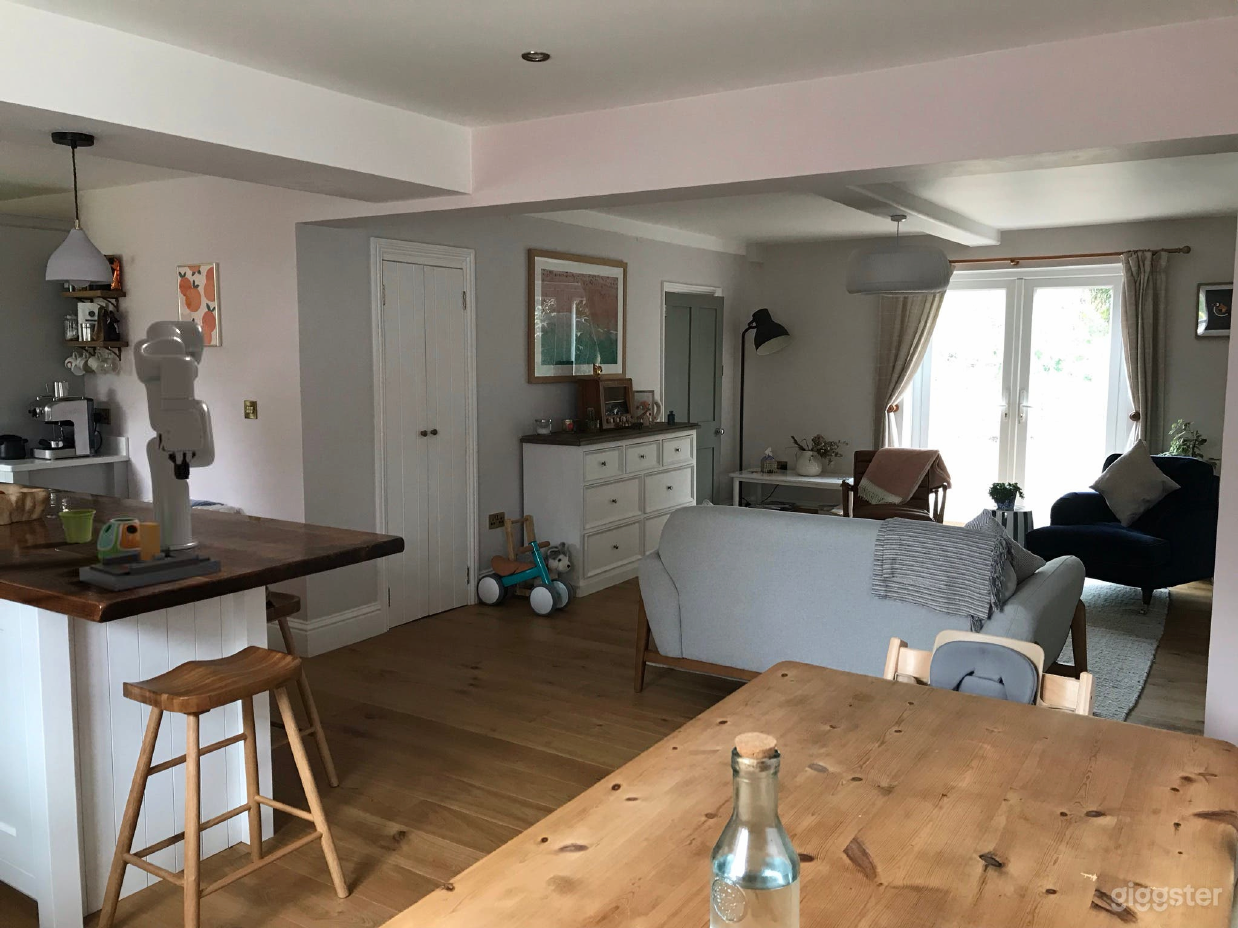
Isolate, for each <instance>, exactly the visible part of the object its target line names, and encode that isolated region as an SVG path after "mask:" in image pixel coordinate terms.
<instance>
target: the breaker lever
mask: <svg viewBox="0 0 1238 928" xmlns="http://www.w3.org/2000/svg"><path fill="white" fill-rule="evenodd" d="M139 531H140V549H141V559H142V560H146V561H150V562H153V554H158V553H160V534H159V524H156V523H154V522H151V521H146V522H140V523H139Z"/></svg>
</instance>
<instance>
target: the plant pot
mask: <svg viewBox="0 0 1238 928" xmlns="http://www.w3.org/2000/svg"><path fill="white" fill-rule="evenodd" d="M95 513H96V510H94V509H71V510H64V511H60V512H59V513H58V516H59V517H60V520H61V521H62V526H63V530H64V535H65V540H66V543H67V544H75V543H79V544H83V543H88V542H90V541H91V540H92V529H93V521H94V520H93V519H94V517H95Z"/></svg>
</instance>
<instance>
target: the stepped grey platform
mask: <svg viewBox="0 0 1238 928" xmlns="http://www.w3.org/2000/svg"><path fill="white" fill-rule="evenodd" d="M170 552H171V550H170V547H168V546H164V547H160V553H165V554H167V553H170ZM199 555H200V554H198V555H189V556H183V557H177V558H171V559H165V560H159V561H153V562H147V563H141V564H136V565H130V575H133V576H136V575H142V574H147V573H153V572H159V571H164V570H170V569H175V568H181V567H187V566H192V565H198V564H199ZM133 561H137V551H132V552H126V553H120V554H113V555H107V556H103V558H102V563H106V564H107V563H116V564H121V563H127V562H133Z"/></svg>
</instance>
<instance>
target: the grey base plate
mask: <svg viewBox="0 0 1238 928" xmlns="http://www.w3.org/2000/svg"><path fill="white" fill-rule="evenodd" d="M189 555H199V564H198V565H192V566H187V567H181V568H175V569H170V570H164V571H159V572H153V573H147V574H142V575H136V576H133V575H130V565H136V564H141V563H147V562H150V561H146V560H142V559H141V550H137V561H133V562H127V563H121V564H116V563H107V564H106V563H102V564H99V563H98V564H97V563H96V564H91V565H89V566H83V567H79V568H78V570H79V581H80V582H81V581H82V582H84V583H87V584H91V585H94V586H98V587H101V588H103V587H104V589H107V590H110V591H113V590H114V591H113V592H119V590H120V591H124V590H130V589H135V587H136V588H140V587H146V586H151V585H156V584H161V583H167V582H172V581H178V580H182V579H188V578H192V577H199V576H204V575H208V574H209V575H210V574H216V573H220V572H221V573H222V568H221V567H222V566H221V563H222V562H221V559H219V558H215V557H210V556H205V555H203V554H197V553H194V552H189V551H185V550H174V551H170V553H167V554H165V553H158V554H153V561H159V560H165V559H171V558H177V557H183V556H189Z"/></svg>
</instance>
